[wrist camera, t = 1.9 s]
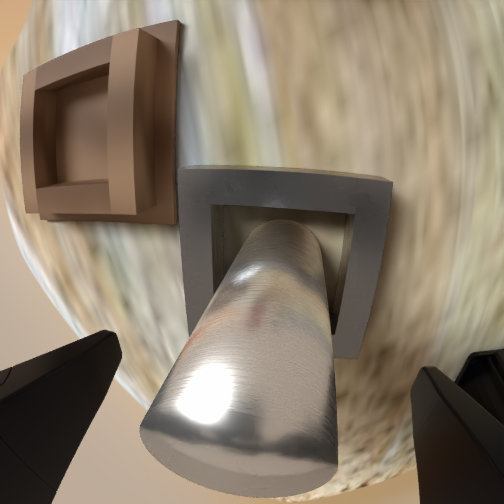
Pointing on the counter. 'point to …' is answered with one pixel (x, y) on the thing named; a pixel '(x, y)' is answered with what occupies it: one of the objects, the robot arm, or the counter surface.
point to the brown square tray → (103, 130)
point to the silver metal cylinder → (255, 377)
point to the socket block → (293, 197)
